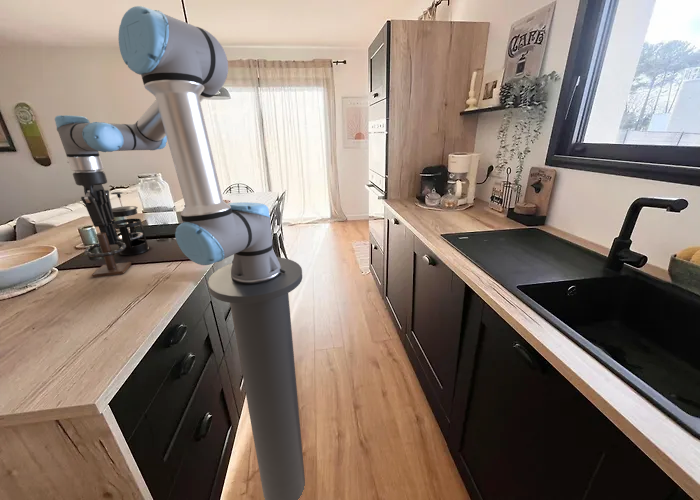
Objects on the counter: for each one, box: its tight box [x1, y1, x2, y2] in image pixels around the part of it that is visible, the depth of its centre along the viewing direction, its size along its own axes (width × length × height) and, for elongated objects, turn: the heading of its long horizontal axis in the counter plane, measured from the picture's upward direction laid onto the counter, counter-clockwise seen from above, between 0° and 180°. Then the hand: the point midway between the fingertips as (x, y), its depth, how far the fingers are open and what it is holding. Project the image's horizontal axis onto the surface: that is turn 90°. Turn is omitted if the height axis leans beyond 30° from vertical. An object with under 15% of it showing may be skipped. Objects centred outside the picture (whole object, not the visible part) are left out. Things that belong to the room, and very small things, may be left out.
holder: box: [91, 232, 132, 278], centre depth 93 cm, size 8×8×13 cm
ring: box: [84, 240, 126, 258], centre depth 92 cm, size 10×10×1 cm
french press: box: [110, 191, 150, 257], centre depth 107 cm, size 12×9×23 cm
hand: (111, 243), depth 96 cm, fingers closed on ring, 1 cm apart
